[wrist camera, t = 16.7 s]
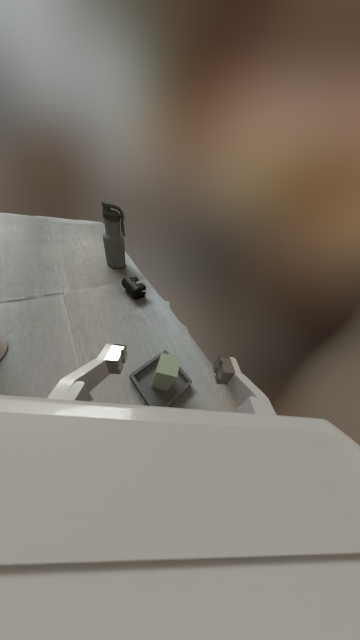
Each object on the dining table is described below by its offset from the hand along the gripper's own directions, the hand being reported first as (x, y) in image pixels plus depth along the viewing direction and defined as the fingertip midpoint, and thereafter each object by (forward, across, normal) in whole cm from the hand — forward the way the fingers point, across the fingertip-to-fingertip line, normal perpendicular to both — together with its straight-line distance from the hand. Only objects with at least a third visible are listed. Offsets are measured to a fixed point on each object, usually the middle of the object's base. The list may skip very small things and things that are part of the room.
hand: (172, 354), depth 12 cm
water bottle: (+74, -35, -15) cm, 83 cm away
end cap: (+53, -19, -22) cm, 60 cm away
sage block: (+14, 0, -30) cm, 34 cm away
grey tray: (+14, 0, -31) cm, 34 cm away
